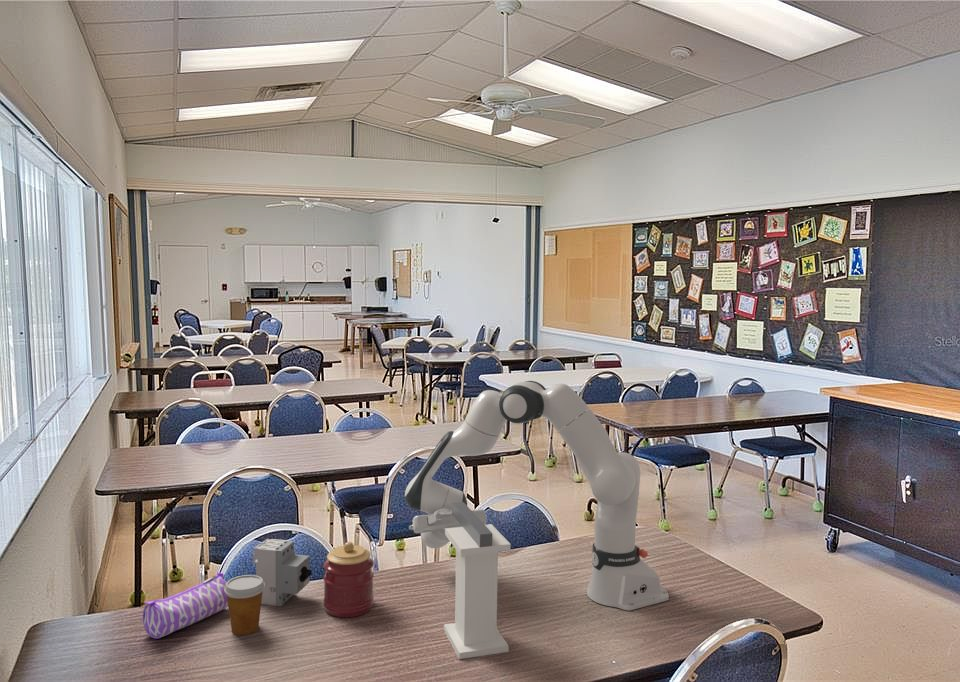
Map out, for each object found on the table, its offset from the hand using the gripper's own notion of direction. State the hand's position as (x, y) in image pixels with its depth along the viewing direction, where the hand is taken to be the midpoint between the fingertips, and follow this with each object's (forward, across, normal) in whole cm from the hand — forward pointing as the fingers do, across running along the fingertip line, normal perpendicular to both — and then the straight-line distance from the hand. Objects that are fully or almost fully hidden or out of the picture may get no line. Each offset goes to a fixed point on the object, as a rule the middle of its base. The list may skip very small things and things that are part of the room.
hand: (455, 515), depth 188 cm
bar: (+13, 0, +6) cm, 14 cm away
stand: (+4, 0, +31) cm, 31 cm away
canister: (-18, -27, +18) cm, 38 cm away
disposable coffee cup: (-14, -53, +20) cm, 59 cm away
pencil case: (-20, -67, +17) cm, 72 cm away
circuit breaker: (-26, -43, +13) cm, 52 cm away
